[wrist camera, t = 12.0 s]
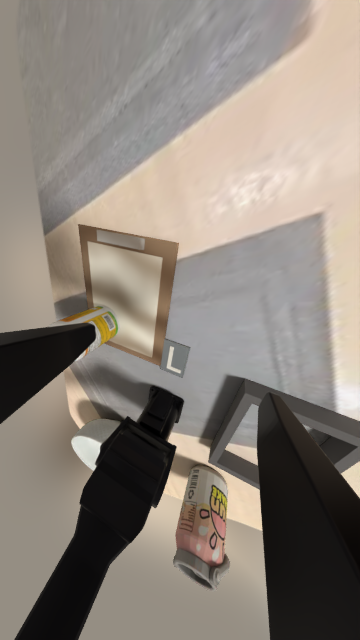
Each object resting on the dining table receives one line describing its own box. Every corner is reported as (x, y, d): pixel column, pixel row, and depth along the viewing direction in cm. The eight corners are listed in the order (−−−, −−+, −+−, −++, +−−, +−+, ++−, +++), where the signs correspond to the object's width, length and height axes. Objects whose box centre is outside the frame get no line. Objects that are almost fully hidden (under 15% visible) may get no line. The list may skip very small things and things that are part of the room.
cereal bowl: (134, 459, 43) (117, 493, 37) (90, 421, 44) (65, 448, 38) (162, 443, 35) (146, 483, 29) (107, 395, 35) (79, 425, 29)
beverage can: (239, 493, 32) (239, 609, 22) (206, 490, 36) (192, 586, 26) (214, 463, 31) (201, 569, 20) (183, 463, 35) (159, 551, 25)
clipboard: (161, 363, 25) (156, 369, 24) (94, 336, 29) (86, 340, 27) (178, 243, 17) (173, 242, 16) (82, 224, 21) (70, 222, 19)
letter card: (182, 377, 25) (182, 378, 24) (160, 367, 26) (159, 369, 25) (190, 347, 22) (189, 348, 22) (165, 338, 23) (164, 339, 23)
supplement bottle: (91, 324, 26) (22, 357, 18) (96, 298, 24) (17, 323, 15) (116, 341, 26) (57, 384, 17) (124, 317, 23) (58, 353, 15)
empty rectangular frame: (287, 485, 26) (291, 506, 24) (210, 446, 29) (208, 462, 27) (363, 423, 18) (380, 446, 16) (244, 378, 21) (245, 392, 19)
